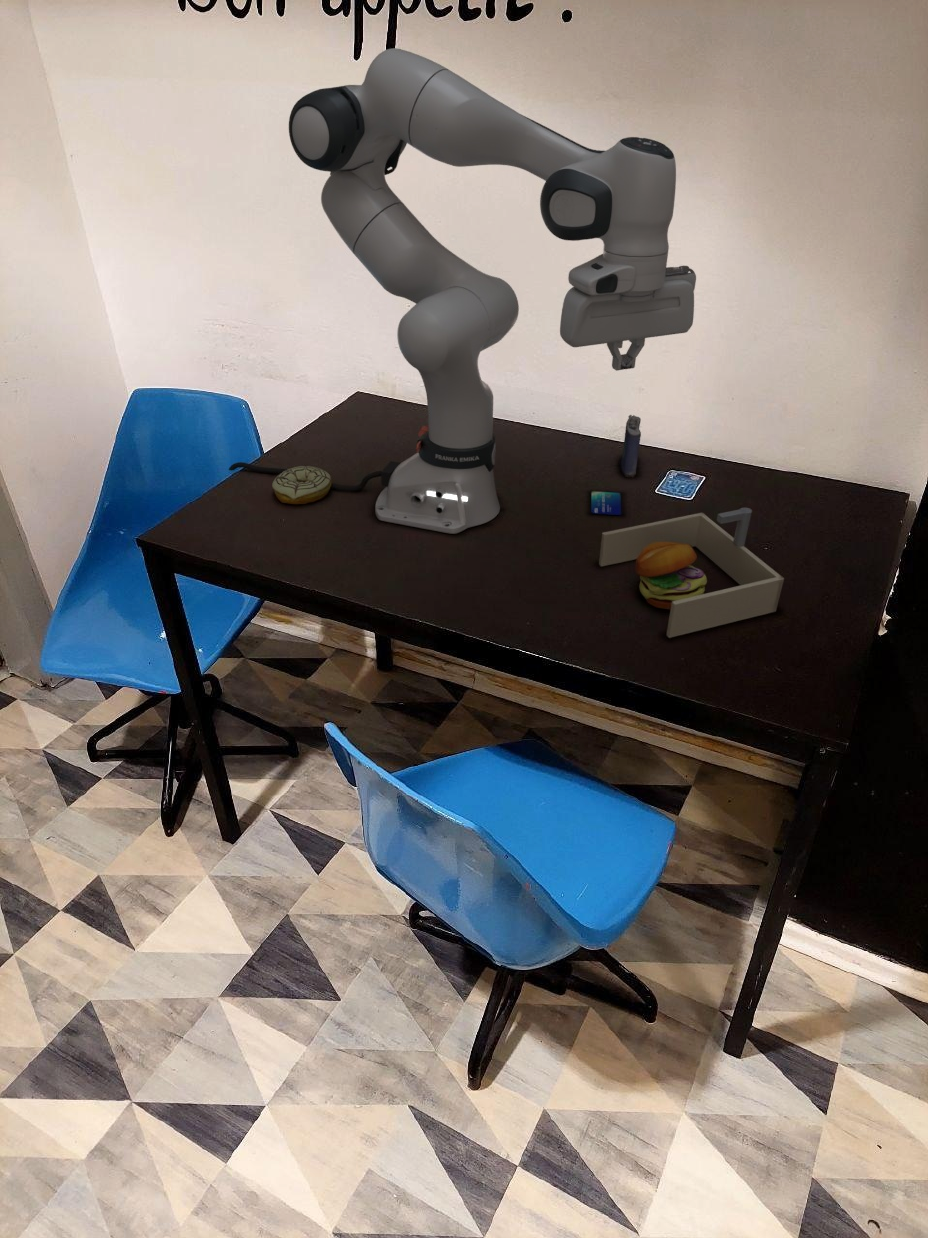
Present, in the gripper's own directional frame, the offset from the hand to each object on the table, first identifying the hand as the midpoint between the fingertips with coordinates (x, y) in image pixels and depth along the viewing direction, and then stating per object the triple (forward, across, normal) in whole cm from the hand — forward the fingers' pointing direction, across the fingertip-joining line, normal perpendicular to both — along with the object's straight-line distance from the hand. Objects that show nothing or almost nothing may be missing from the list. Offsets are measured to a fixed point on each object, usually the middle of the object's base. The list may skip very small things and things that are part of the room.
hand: (623, 368), depth 131 cm
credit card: (+31, -8, -14) cm, 35 cm away
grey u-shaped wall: (+31, -6, +15) cm, 35 cm away
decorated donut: (+31, +43, -38) cm, 65 cm away
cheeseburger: (+31, -2, +16) cm, 35 cm away
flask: (+31, -19, -26) cm, 45 cm away
